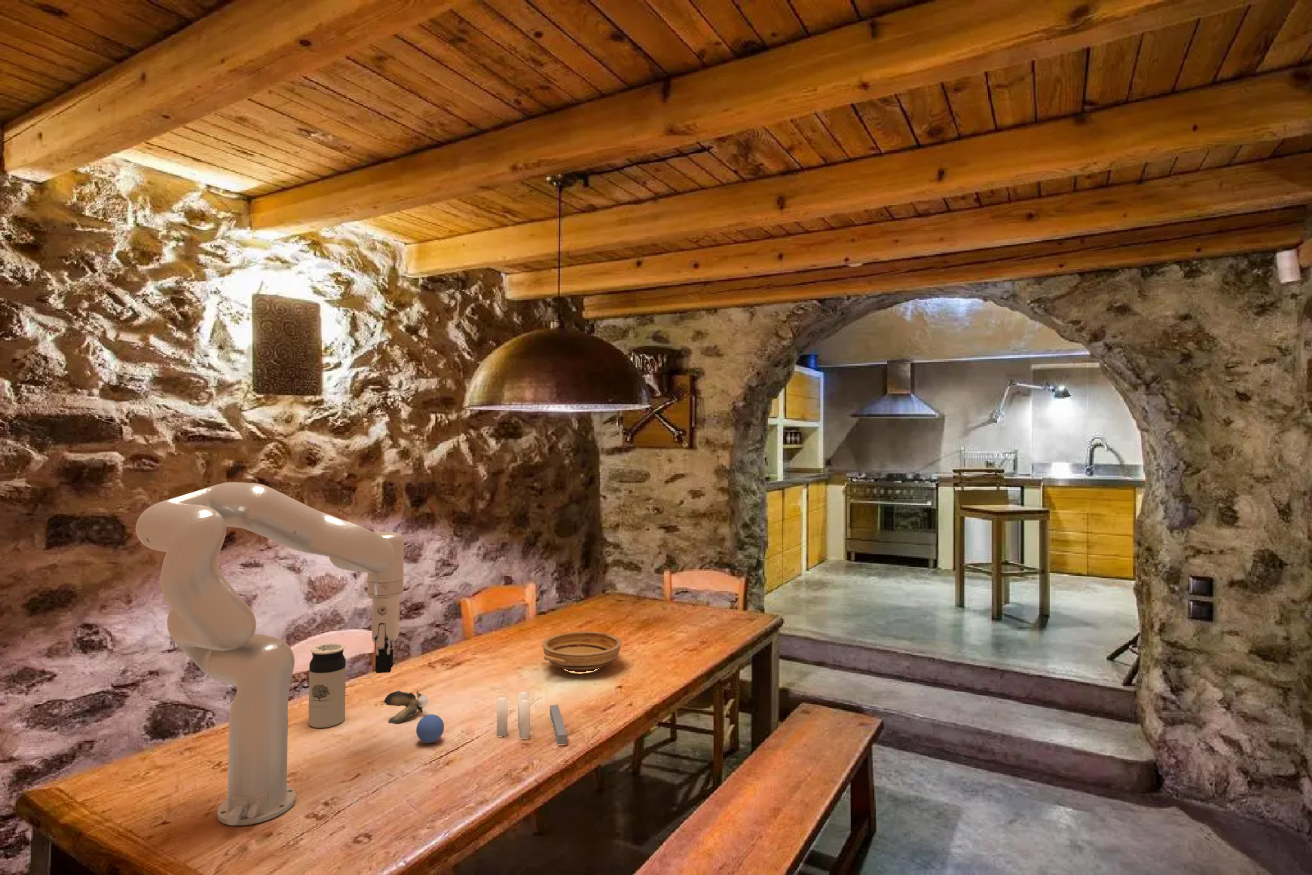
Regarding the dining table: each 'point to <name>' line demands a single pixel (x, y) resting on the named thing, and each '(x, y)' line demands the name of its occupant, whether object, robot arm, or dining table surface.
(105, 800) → the dining table surface
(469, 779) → the dining table surface
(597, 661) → the ceramic bowl
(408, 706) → the eagle figurine
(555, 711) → the gray rectangular bar
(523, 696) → the pin
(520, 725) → the pin
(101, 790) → the dining table surface
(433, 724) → the ball
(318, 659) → the travel mug
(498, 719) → the front pin
